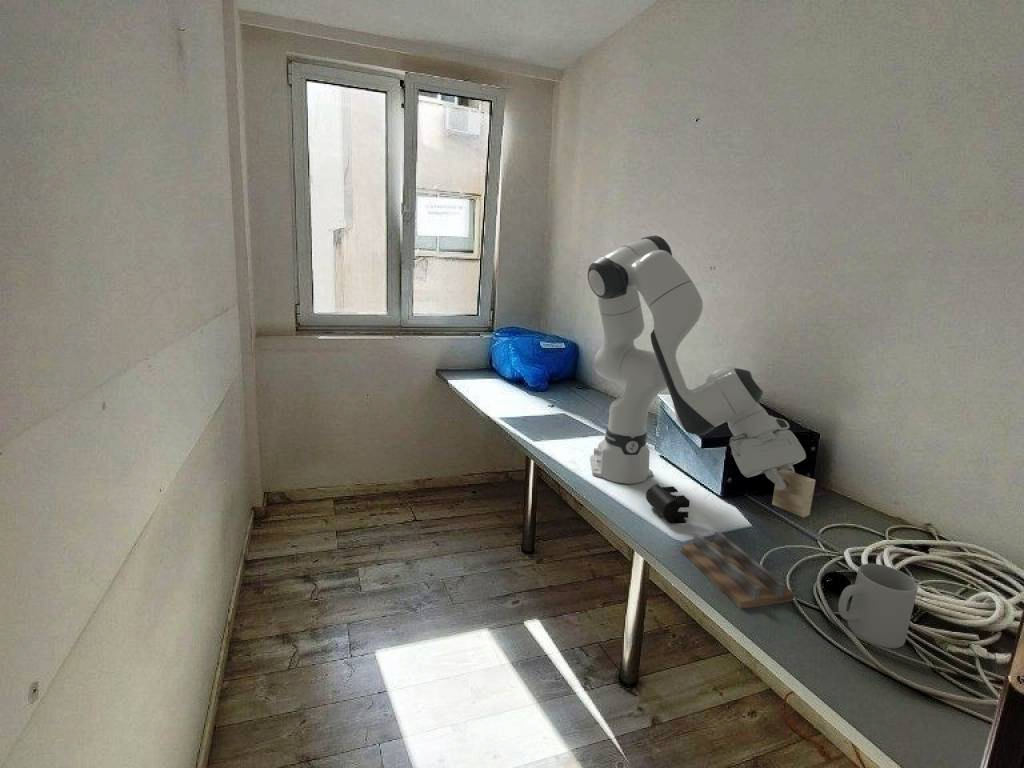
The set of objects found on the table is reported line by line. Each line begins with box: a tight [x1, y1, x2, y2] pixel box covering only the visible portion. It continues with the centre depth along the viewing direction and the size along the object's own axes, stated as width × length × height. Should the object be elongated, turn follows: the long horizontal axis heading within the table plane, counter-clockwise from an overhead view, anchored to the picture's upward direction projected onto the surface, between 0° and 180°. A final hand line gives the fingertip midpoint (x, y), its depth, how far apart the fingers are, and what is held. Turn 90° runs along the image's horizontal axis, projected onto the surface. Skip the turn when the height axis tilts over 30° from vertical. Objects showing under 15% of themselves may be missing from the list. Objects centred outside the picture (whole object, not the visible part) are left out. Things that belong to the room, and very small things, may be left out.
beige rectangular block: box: [771, 469, 816, 518], centre depth 110 cm, size 7×2×8 cm, turn 32°
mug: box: [838, 563, 919, 649], centre depth 89 cm, size 12×8×11 cm
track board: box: [680, 531, 796, 610], centre depth 106 cm, size 20×12×4 cm, turn 14°
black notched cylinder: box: [645, 483, 690, 525], centre depth 130 cm, size 10×7×7 cm
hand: (789, 487), depth 111 cm, fingers closed on beige rectangular block, 2 cm apart
